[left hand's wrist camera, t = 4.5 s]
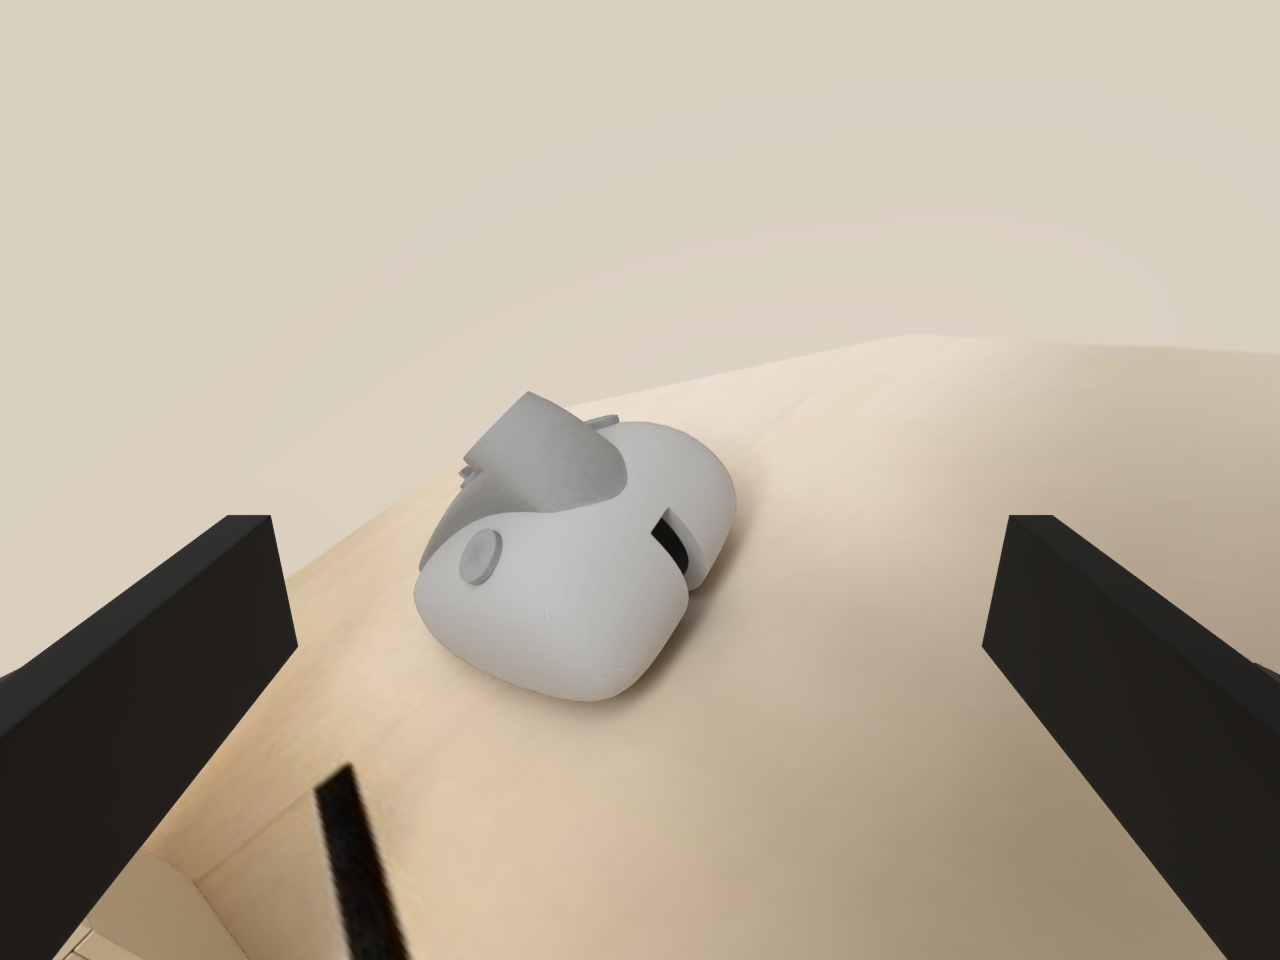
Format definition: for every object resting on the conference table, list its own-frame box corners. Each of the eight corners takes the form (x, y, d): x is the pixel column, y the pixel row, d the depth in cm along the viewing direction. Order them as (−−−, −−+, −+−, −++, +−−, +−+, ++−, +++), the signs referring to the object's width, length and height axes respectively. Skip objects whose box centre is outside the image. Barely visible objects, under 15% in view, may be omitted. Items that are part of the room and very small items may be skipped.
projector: (688, 443, 54) (602, 271, 47) (829, 622, 34) (718, 369, 27) (437, 583, 54) (313, 433, 47) (431, 846, 34) (213, 652, 27)
